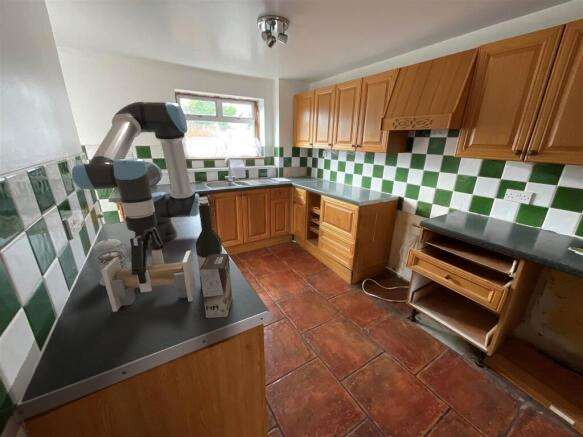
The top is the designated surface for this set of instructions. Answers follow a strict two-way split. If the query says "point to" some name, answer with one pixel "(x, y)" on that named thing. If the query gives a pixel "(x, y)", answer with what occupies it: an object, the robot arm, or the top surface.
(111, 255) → the french press
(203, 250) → the wine bottle
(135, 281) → the rail
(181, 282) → the brackets
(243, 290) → the top surface
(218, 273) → the coffee box
